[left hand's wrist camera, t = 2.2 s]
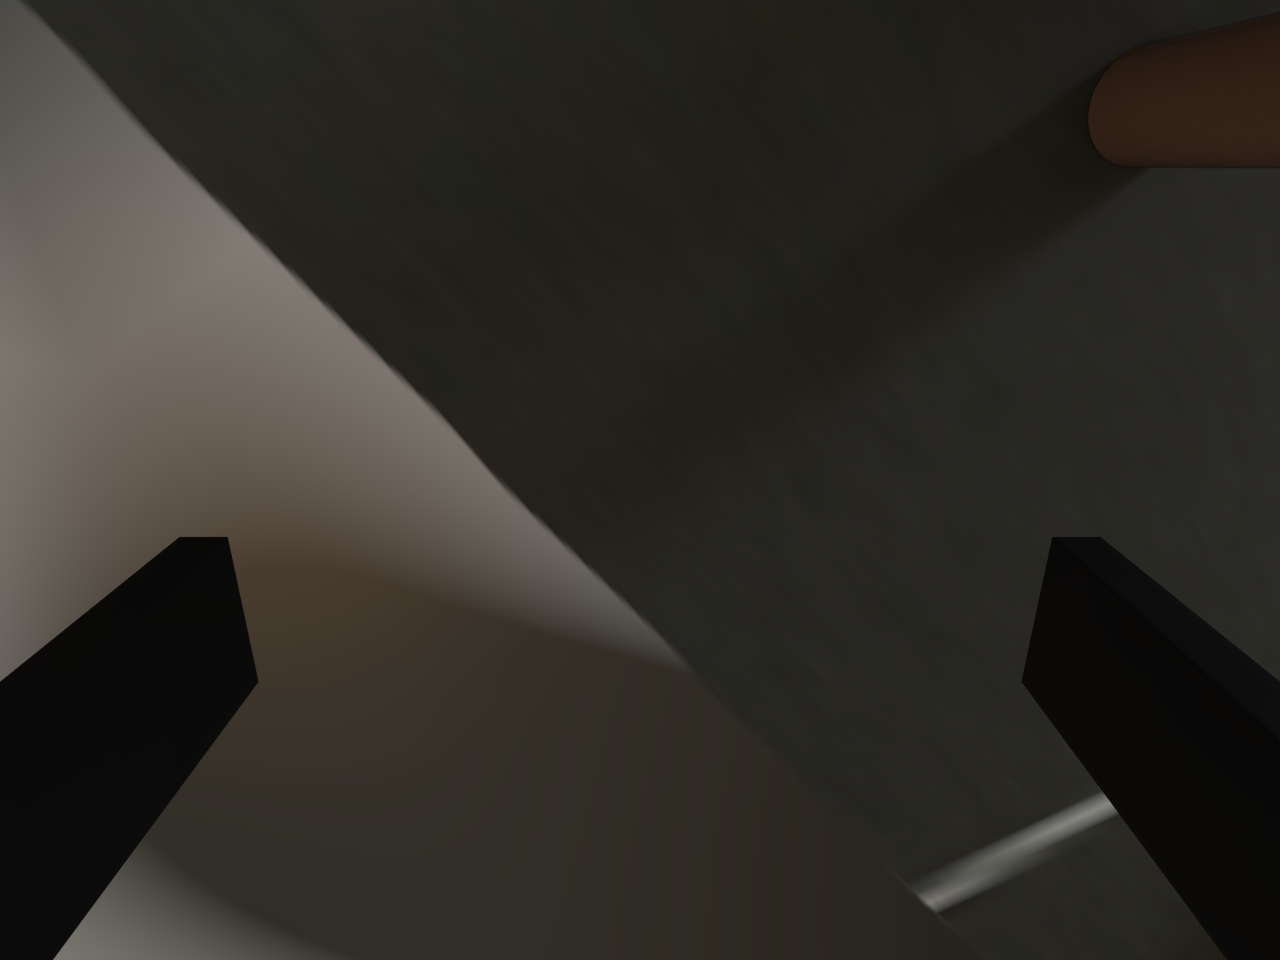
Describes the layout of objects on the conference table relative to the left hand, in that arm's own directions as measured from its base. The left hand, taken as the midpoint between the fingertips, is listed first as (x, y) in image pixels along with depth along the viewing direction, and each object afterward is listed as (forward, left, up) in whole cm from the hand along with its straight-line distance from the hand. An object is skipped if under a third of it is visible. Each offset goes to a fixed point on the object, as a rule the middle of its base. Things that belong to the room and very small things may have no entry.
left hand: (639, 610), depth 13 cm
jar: (-9, +23, -28) cm, 37 cm away
